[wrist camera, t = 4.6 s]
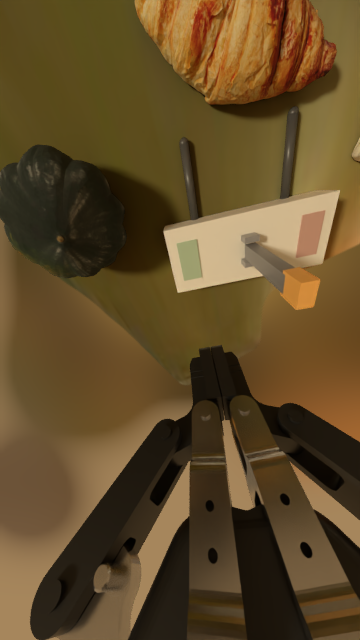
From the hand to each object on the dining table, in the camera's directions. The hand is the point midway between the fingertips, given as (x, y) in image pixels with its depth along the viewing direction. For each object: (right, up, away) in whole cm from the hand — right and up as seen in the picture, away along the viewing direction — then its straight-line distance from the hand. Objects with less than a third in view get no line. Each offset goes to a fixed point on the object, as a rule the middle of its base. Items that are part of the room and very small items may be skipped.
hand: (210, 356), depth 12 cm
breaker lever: (+8, +13, +16) cm, 22 cm away
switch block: (+7, +20, +17) cm, 27 cm away
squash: (-17, +19, +17) cm, 31 cm away
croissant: (+4, +33, +9) cm, 35 cm away
